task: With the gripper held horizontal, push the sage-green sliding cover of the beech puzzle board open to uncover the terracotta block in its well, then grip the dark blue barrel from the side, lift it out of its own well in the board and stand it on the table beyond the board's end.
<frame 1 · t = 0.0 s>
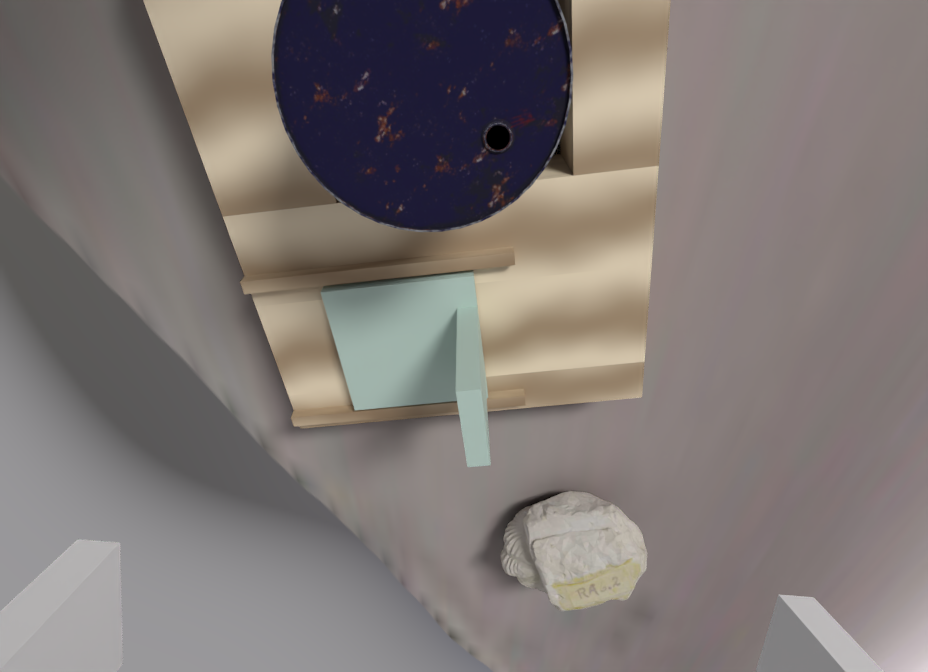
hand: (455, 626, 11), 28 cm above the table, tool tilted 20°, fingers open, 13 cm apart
fossil replica: (560, 510, 51), on the table
dark blue barrel: (439, 48, 30), resting in puzzle board
puzzle board: (440, 181, 34), on the table
cover: (404, 383, 31), point 9 cm above the table, slide at 0.0 cm
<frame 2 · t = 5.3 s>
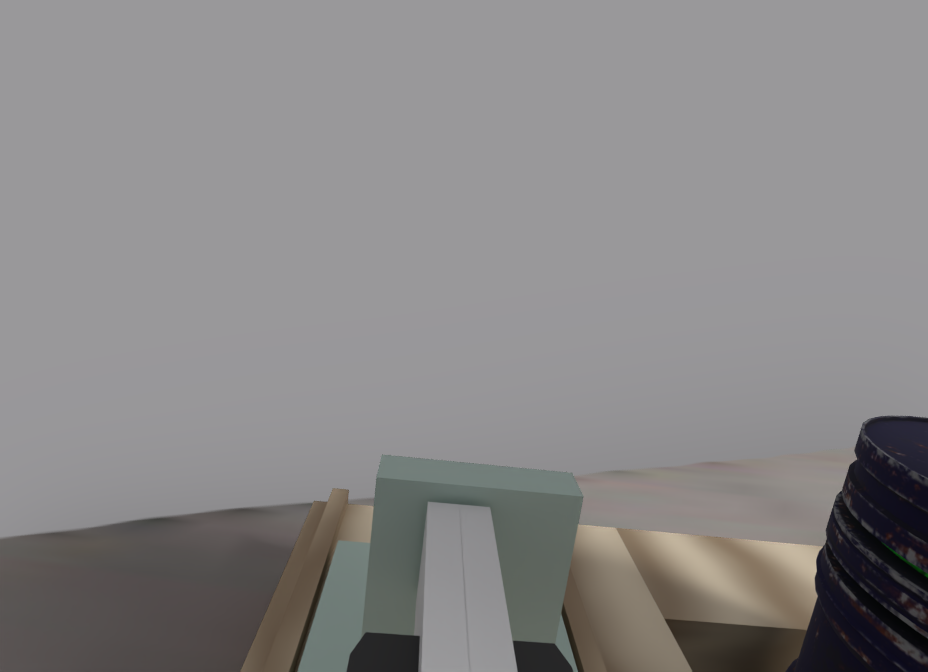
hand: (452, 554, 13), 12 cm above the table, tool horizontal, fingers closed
cover: (455, 537, 18), point 9 cm above the table, slide at 0.0 cm, touching gripper
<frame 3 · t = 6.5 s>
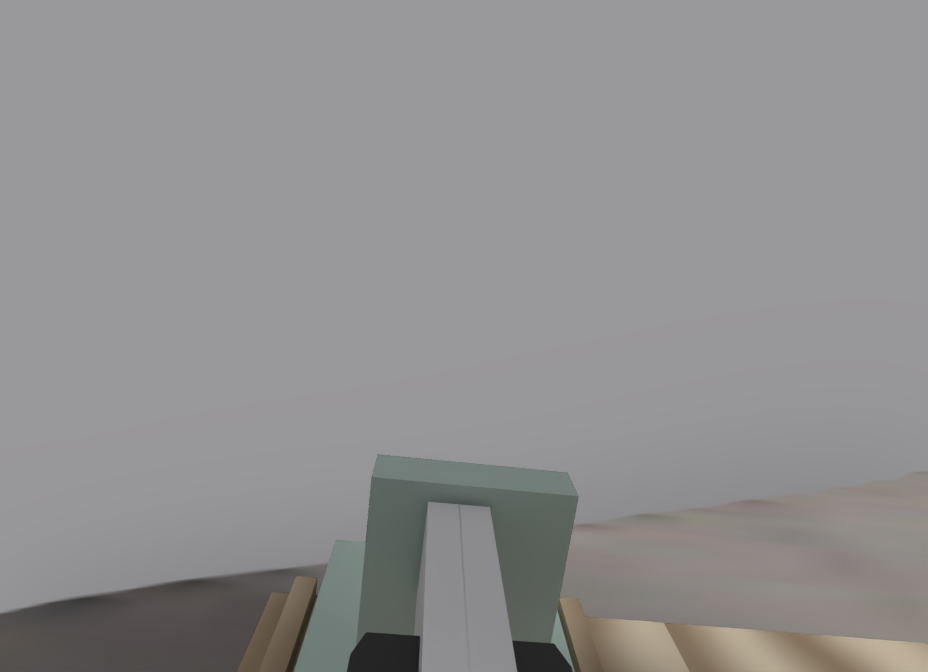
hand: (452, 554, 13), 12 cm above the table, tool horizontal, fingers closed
cover: (451, 537, 18), point 9 cm above the table, slide at 6.8 cm, touching gripper
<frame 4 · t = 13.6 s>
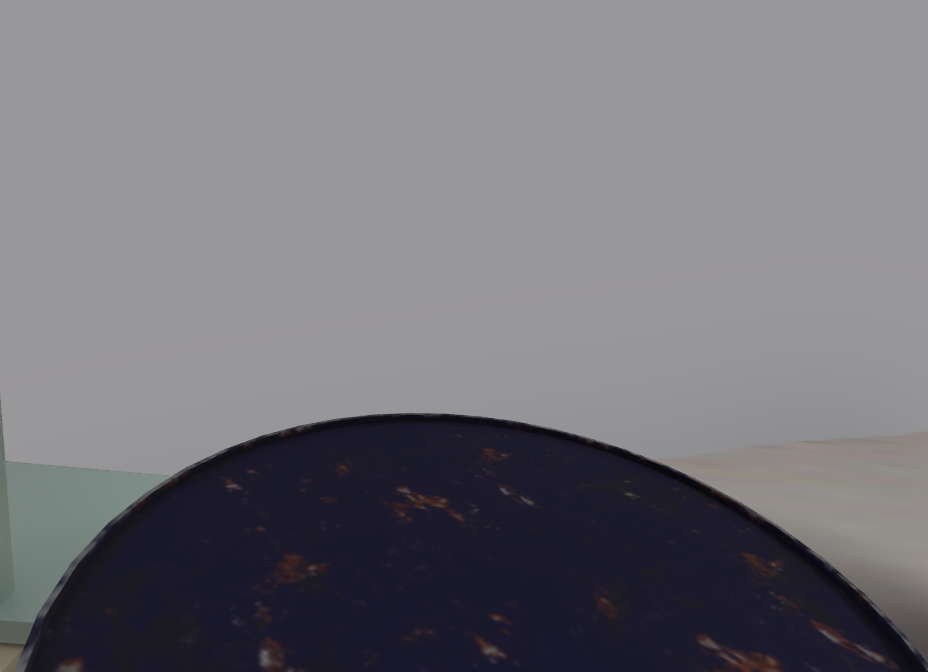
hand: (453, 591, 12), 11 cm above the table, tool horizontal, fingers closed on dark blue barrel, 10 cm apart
cover: (4, 436, 20), point 9 cm above the table, slide at 9.0 cm
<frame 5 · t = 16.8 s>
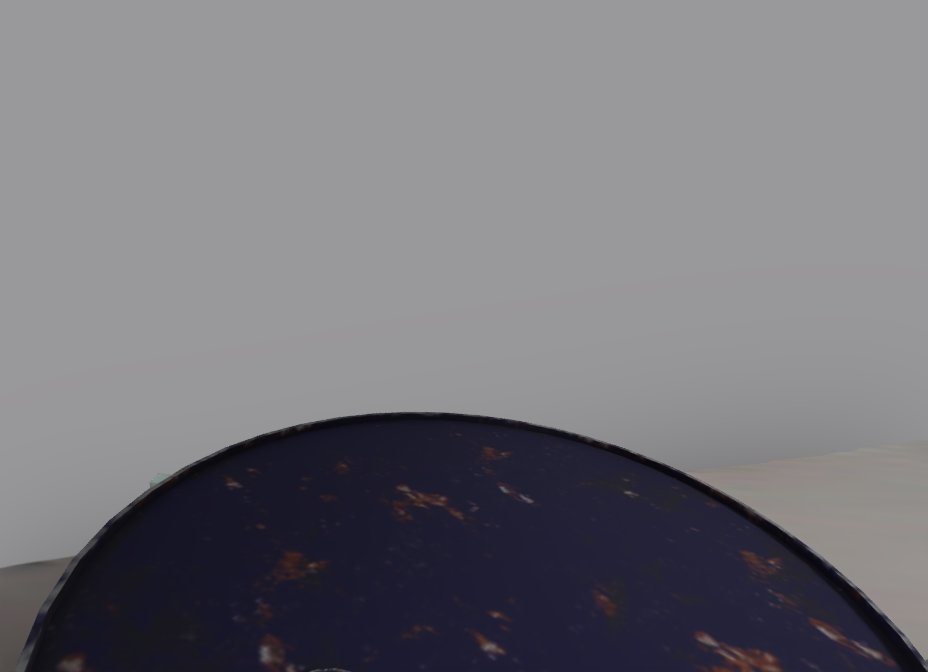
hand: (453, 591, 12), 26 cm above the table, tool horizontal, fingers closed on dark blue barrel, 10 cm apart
cover: (214, 507, 42), point 9 cm above the table, slide at 9.0 cm
when the fingers open (12 cm above the table, at t = 20.0 s): dark blue barrel drops 1 cm, on the table.
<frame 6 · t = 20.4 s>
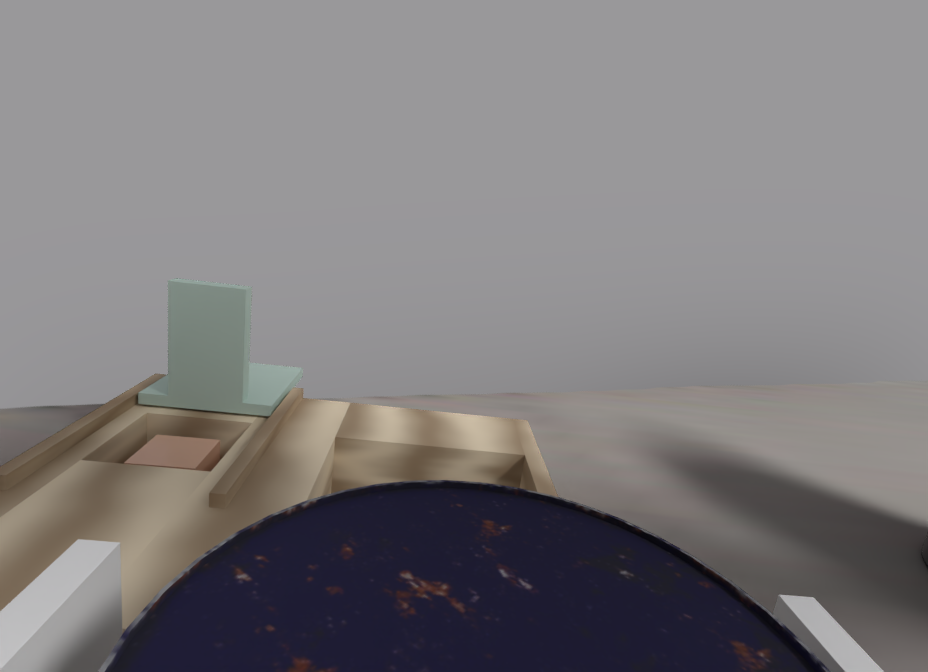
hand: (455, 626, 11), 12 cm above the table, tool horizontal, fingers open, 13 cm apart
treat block: (175, 508, 35), resting in puzzle board
puzzle board: (299, 545, 32), on the table
cover: (230, 333, 41), point 9 cm above the table, slide at 9.0 cm
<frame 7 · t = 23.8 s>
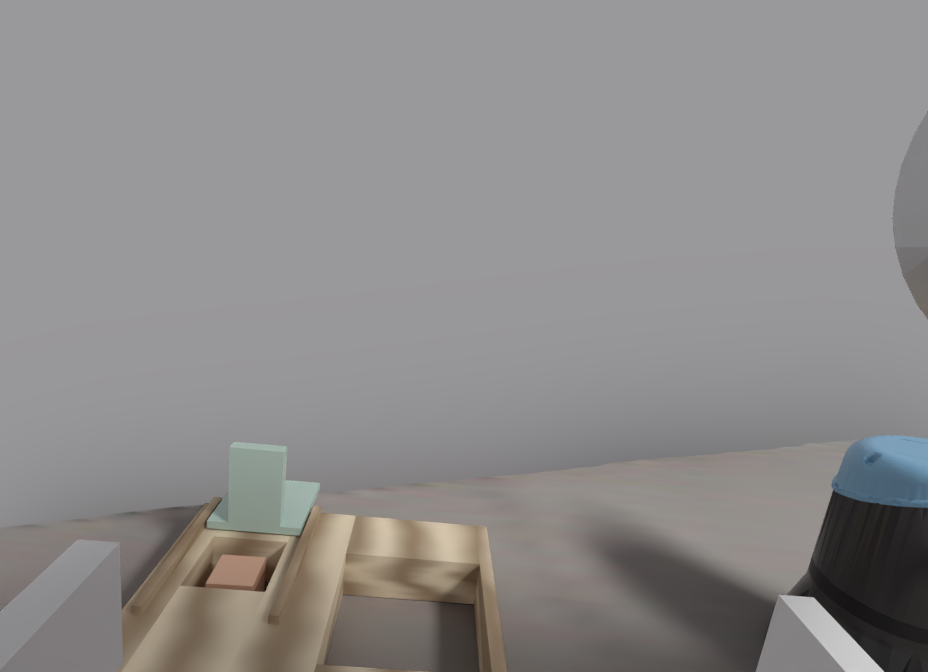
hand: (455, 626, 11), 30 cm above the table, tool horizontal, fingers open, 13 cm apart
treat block: (235, 607, 50), resting in puzzle board
puzzle board: (322, 637, 48), on the table
cover: (269, 469, 57), point 9 cm above the table, slide at 9.0 cm
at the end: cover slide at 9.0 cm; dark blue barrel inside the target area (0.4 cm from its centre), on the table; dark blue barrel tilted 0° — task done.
